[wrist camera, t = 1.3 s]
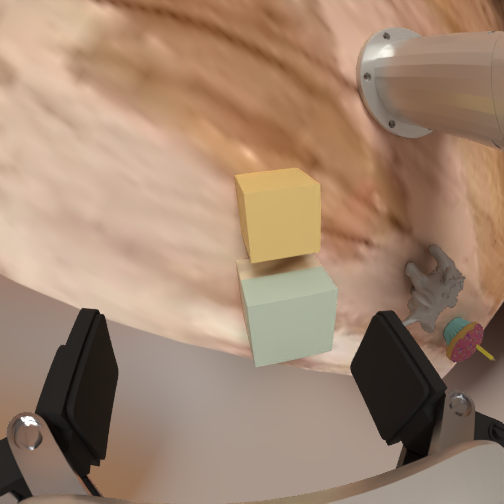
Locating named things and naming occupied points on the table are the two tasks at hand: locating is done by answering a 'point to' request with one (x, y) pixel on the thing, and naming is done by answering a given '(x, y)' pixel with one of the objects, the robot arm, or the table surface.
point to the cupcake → (463, 339)
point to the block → (279, 213)
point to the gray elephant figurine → (433, 290)
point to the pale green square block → (290, 315)
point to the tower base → (272, 269)
